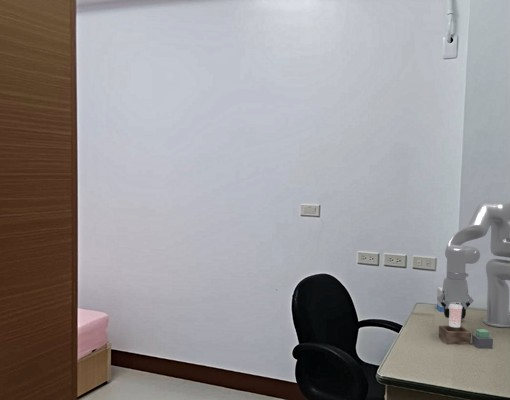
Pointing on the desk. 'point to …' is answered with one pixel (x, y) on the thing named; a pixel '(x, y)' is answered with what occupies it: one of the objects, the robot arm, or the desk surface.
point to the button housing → (482, 342)
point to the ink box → (439, 306)
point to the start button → (482, 333)
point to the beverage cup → (455, 315)
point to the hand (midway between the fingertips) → (454, 317)
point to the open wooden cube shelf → (454, 335)
